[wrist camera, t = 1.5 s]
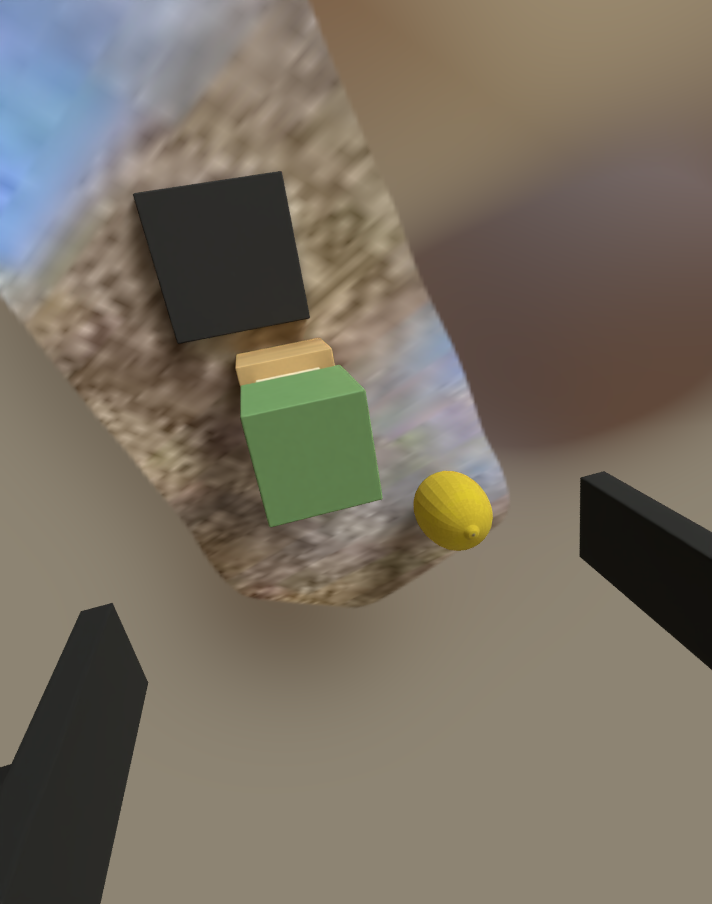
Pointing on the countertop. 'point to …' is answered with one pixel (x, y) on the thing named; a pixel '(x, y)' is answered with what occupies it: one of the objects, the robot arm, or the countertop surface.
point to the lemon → (453, 510)
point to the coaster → (224, 255)
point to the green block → (310, 444)
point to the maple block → (283, 360)
